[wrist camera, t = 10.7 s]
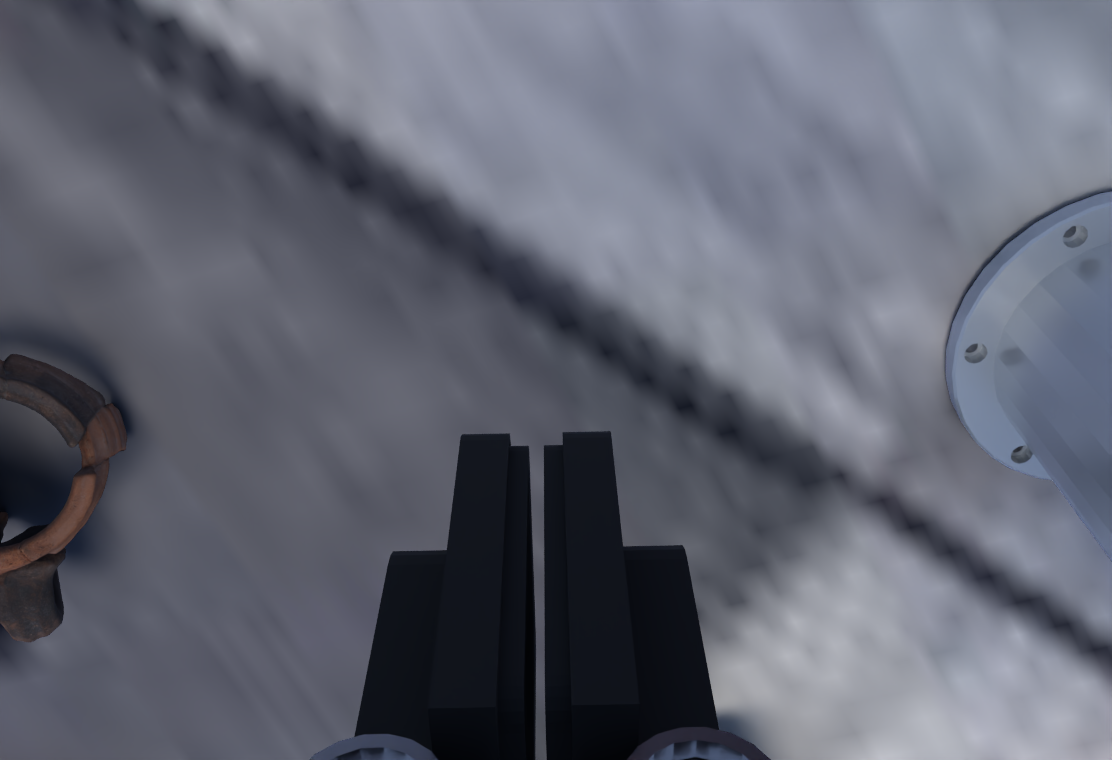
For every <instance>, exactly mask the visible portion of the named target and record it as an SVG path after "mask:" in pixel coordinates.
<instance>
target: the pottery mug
mask: <svg viewBox="0 0 1112 760" xmlns="http://www.w3.org/2000/svg"><path fill="white" fill-rule="evenodd" d="M0 398H2V399H6V400H9V401H13V402H16V403H19V404H22V405H24V406H26V407H28V408H30V409H32V410H34V411H36V412H38V413H39V414H41V415H42V416H43V417H45V418H46V419H47V420H48V421H49V422H50V423H51V424H52V425H53V426H55V427H56V428H57V430H58V431H59V432H60V434H61V435H62V437H63V438H64V439H65V441H66V443H67V445H68V446H69V447H71V448H72V447H75V446H76V445H77V444H78V443H79V447H80V450H81V454H82V469H81V470H80V471H79V472H77V473H76V474H75V475H74V478H73V482H72V487H71V491H70V494H69V497H68V500H67V502H66V504H65V506H64V507H63V509H62V510H61V512H60V513H59V514H58V516H57V517H56V518H55V519H54V520H53V521H52V522H51V523H50V524H48V525H42V526H33V527H30V528H28V529H27V530H25V531H24V532H23V533H21V534H19V535H17V536H16V537H14V538H13V539H11V540H9V541H6V542H4V543H1V540H2V538H3V530H4V528H5V526H6V524H7V521H8V514H7V513H6V512H0V623H1V624H2V625H3V626H4V628H5V629H6V631H7V632H8V633H9V634H10V635H11V637H12V638H13V639H14V640H16V641H24V642H32V641H35V640H36V639H39V638H41V637H45V636H48V635H50V634H51V633H52V632H53V631H54V630H55V629H56V628H57V627H58V626H59V625H60V624H61V623H62V620H63V615H64V606H63V601H62V595H61V589H60V583H59V577H58V571H57V567H58V566H59V565H60V564H61V562H62V561H63V560H64V559H65V552H66V549H65V548H64V547H65V546H66V545H67V544H68V543H69V542H70V541H71V540H72V539H73V538H74V537H75V535H76V534H77V533H78V531H80V530H81V528H82V527H83V526H84V525H85V524H86V522H87V520H88V519H89V517H90V515H91V514H92V512H93V510H94V508H95V506H96V504H97V503H98V501H99V499H100V498H101V496H102V494H103V491H104V488H105V485H106V481H107V477H108V471H109V458H110V457H112V456H114V455H115V454H116V453H118V452H119V451H124V450H125V449H126V442H127V434H126V430H125V426H124V423H123V420H122V416H121V414H120V412H119V410H118V409H117V408H116V407H115V406H114V405H113V404H112V403H110V404H107V405H105V399H104V397H103V396H102V395H101V393H99V392H98V391H96V390H94V389H93V388H92V387H90V386H88V385H87V384H86V383H84V382H82V381H80V380H79V379H77V378H75V377H73V376H71V375H70V374H67V373H65V372H64V371H62V370H60V369H58V368H56V367H53V366H51V365H49V364H46V363H43V362H40V361H37V360H34V359H31V358H28V357H25V356H22V355H18V354H11V355H10V356H8V357H7V358H6V360H5V361H2V360H0Z"/></svg>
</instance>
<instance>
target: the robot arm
mask: <svg viewBox="0 0 1112 760" xmlns="http://www.w3.org/2000/svg"><path fill="white" fill-rule="evenodd" d="M1069 228H1070V229H1069ZM1068 229H1069V230H1068ZM1067 230H1068V231H1067ZM1066 231H1067V232H1066ZM945 376H946V381H947V385H948V390H949V395H950V400H951V402H952V404H953V406H954V408H955V410H956V412H957V414H958V416H959V419H960V421H961V422H962V424H963V425H964V426H965V428H966V429H967V431H968V432H969V434H970V435H971V436H972V438H973V439H974V441H975V442H976V443H977V444H978V445H979V446H980V447H981V448H982V449H983V450H984V451H986V452H987V453H988V454H989V455H990V456H991V457H992V458H993V459H995V460H997V461H998V462H1000V463H1002V464H1003V465H1005V466H1006V467H1008V468H1010V469H1012V470H1015V471H1018V472H1021V473H1024V474H1026V475H1029V476H1032V477H1035V478H1039V479H1046V480H1053V482H1054V483H1055V484H1056V486H1057V487H1058V488H1059V490H1060V491H1061V492H1062V494H1063V495H1064V497H1065V498H1066V499H1067V501H1068V502H1069V503H1070V505H1071V506H1072V508H1073V509H1074V510H1075V512H1076V513H1077V514H1078V516H1079V517H1080V519H1081V520H1082V521H1083V523H1084V524H1085V525H1086V527H1087V528H1088V530H1089V531H1090V532H1091V534H1092V535H1093V536H1094V538H1095V539H1096V541H1097V542H1098V543H1099V545H1100V546H1101V547H1102V549H1103V550H1104V552H1105V553H1106V554H1107V556H1108V557H1109V558H1110V560H1111V561H1112V191H1111V192H1106V193H1101V194H1097V195H1095V196H1092V197H1089V198H1086V199H1084V200H1081V201H1078V202H1076V203H1073V204H1070V205H1067V206H1065V207H1063V208H1062V209H1060V210H1058V211H1056V212H1054V213H1052V214H1051V215H1049V216H1047V217H1045V218H1043V219H1042V220H1040V221H1038V222H1036V223H1035V224H1033V225H1032V226H1031V227H1029V228H1028V229H1027V230H1025V231H1024V232H1023V233H1021V234H1020V235H1019V236H1018V237H1016V238H1015V239H1014V240H1012V241H1011V242H1010V243H1008V244H1007V245H1006V246H1005V247H1004V248H1003V249H1002V250H1001V251H1000V252H999V253H998V254H997V256H996V257H995V258H994V259H993V260H992V261H991V262H990V263H989V264H988V265H987V266H986V267H985V268H984V269H983V271H982V272H981V273H980V275H979V276H978V278H977V279H976V281H975V282H974V284H973V285H972V287H971V288H970V289H969V291H968V292H967V294H966V295H965V297H964V299H963V302H962V304H961V306H960V308H959V310H958V313H957V315H956V317H955V319H954V321H953V324H952V328H951V332H950V336H949V340H948V345H947V349H946V375H945ZM544 561H545V714H546V750H547V760H771V759H770V758H768V757H767V756H766V755H765V754H764V753H763V752H762V751H760V750H759V749H758V748H757V747H756V746H755V745H754V744H752V743H750V742H748V741H746V740H744V739H742V738H740V737H738V736H736V735H734V734H732V733H729V732H725V731H720V730H719V727H718V722H717V716H716V711H715V705H714V700H713V695H712V689H711V684H710V679H709V673H708V668H707V663H706V657H705V652H704V647H703V641H702V636H701V631H700V625H699V620H698V614H697V609H696V604H695V598H694V593H693V588H692V582H691V577H690V572H689V566H688V561H687V556H686V552H685V549H684V547H683V545H674V546H627V547H623V542H622V533H621V523H620V514H619V505H618V495H617V486H616V476H615V467H614V458H613V448H612V439H611V432H610V431H604V432H563V445H545V446H544ZM535 720H536V628H535V600H534V572H533V544H532V516H531V489H530V461H529V446H511V441H510V434H463V435H461V440H460V447H459V455H458V464H457V472H456V480H455V488H454V496H453V504H452V513H451V521H450V529H449V537H448V545H447V550H440V551H393V553H392V554H391V556H390V559H389V563H388V567H387V573H386V578H385V583H384V588H383V593H382V598H381V603H380V608H379V614H378V619H377V624H376V629H375V634H374V639H373V644H372V650H371V655H370V660H369V665H368V670H367V675H366V680H365V685H364V691H363V696H362V701H361V706H360V711H359V716H358V721H357V727H356V732H355V737H353V738H349V739H345V740H342V741H338V742H336V743H334V744H333V745H331V746H329V747H327V748H325V749H323V750H321V751H320V752H318V753H316V754H315V755H313V756H312V757H311V758H310V759H309V760H535Z"/></svg>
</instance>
